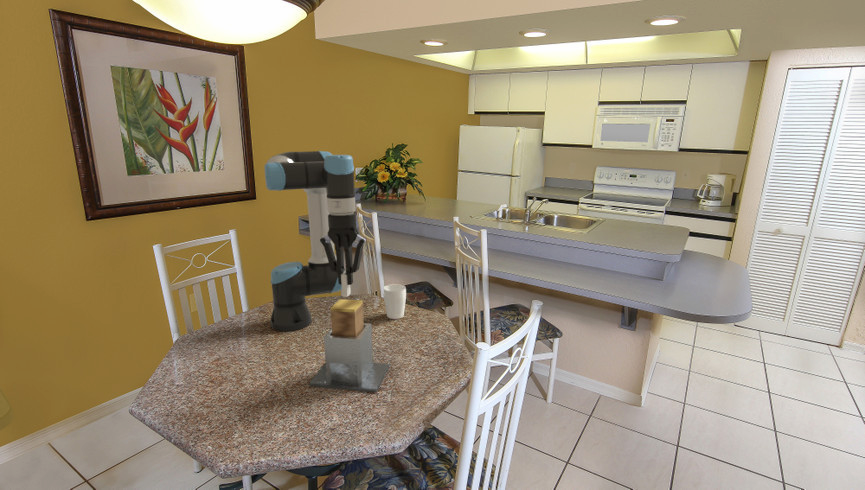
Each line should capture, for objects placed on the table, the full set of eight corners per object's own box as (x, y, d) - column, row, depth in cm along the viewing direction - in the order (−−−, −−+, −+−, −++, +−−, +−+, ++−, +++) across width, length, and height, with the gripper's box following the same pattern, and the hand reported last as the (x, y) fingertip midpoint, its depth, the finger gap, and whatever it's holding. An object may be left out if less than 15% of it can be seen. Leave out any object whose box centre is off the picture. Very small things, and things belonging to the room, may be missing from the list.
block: (333, 353, 123) (330, 308, 120) (342, 342, 130) (339, 299, 126) (356, 355, 122) (354, 309, 118) (364, 344, 129) (362, 300, 125)
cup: (403, 321, 166) (402, 292, 164) (381, 319, 168) (380, 290, 165) (409, 312, 175) (408, 284, 172) (388, 310, 177) (387, 283, 174)
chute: (309, 386, 123) (305, 338, 119) (328, 362, 136) (325, 318, 133) (376, 392, 120) (374, 343, 116) (389, 367, 133) (388, 322, 129)
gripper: (313, 214, 113) (319, 298, 119) (360, 215, 111) (364, 301, 117) (324, 210, 121) (330, 289, 126) (369, 211, 119) (372, 291, 124)
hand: (346, 295), depth 121 cm, fingers closed
